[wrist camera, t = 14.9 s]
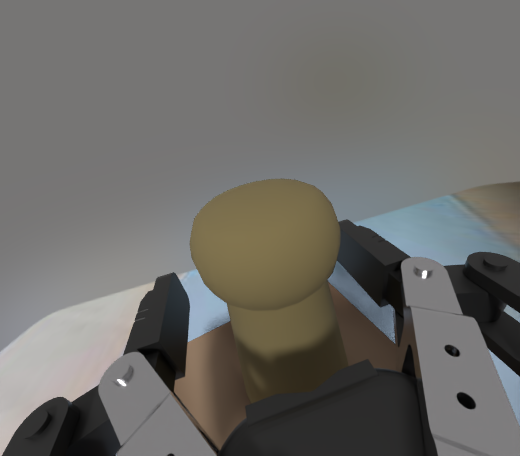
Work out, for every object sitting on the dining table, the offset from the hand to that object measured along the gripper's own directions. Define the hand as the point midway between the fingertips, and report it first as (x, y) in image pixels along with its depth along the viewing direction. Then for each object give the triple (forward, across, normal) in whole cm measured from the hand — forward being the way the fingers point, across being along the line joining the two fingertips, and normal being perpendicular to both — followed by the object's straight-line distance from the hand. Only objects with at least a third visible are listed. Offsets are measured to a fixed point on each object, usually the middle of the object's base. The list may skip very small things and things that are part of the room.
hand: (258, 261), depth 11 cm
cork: (-2, 0, +7) cm, 7 cm away
